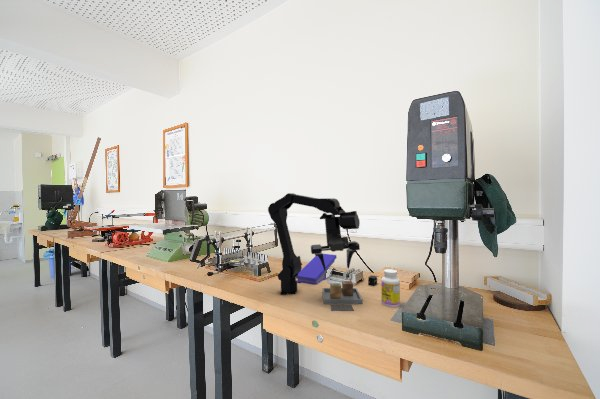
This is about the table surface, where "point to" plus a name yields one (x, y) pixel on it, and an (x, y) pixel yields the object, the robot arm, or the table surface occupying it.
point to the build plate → (372, 280)
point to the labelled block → (335, 291)
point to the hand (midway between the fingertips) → (336, 269)
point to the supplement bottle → (390, 288)
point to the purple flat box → (315, 270)
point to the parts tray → (342, 297)
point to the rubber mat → (341, 308)
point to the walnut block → (347, 288)
